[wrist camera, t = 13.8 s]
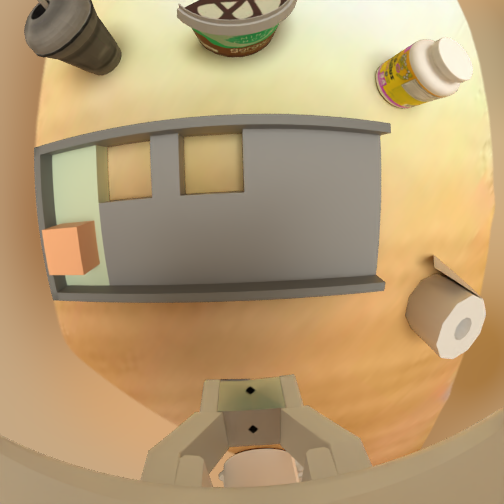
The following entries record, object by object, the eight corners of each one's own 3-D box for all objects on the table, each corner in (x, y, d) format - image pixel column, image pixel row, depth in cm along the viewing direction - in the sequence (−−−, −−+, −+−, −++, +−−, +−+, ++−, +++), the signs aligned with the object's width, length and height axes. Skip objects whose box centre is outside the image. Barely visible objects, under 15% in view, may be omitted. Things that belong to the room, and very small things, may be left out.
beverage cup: (79, 52, 25) (-13, -5, 6) (127, 27, 25) (54, -58, 5) (85, 94, 27) (-25, 49, 8) (136, 69, 27) (47, -14, 7)
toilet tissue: (434, 241, 34) (474, 257, 26) (456, 305, 37) (488, 329, 29) (388, 279, 35) (422, 306, 27) (416, 340, 38) (444, 370, 30)
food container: (217, 84, 28) (208, 48, 18) (189, 49, 26) (173, 7, 17) (305, 39, 27) (327, -2, 17) (276, 7, 25) (288, -39, 16)
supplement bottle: (384, 54, 27) (438, 16, 15) (421, 84, 28) (483, 61, 16) (365, 88, 28) (423, 54, 16) (406, 119, 30) (472, 103, 17)
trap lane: (368, 130, 30) (390, 123, 25) (365, 274, 34) (384, 290, 29) (59, 149, 28) (34, 147, 23) (73, 284, 33) (53, 300, 28)
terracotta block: (94, 220, 28) (76, 226, 24) (99, 263, 29) (83, 275, 26) (60, 223, 28) (41, 230, 24) (66, 264, 29) (49, 275, 25)
